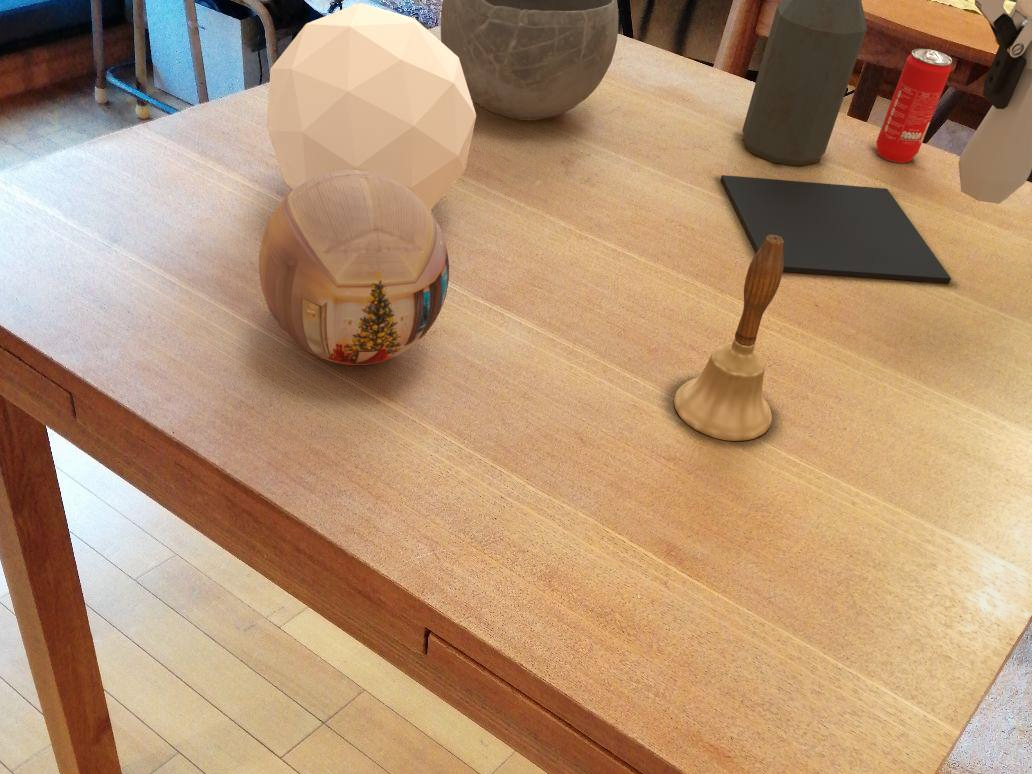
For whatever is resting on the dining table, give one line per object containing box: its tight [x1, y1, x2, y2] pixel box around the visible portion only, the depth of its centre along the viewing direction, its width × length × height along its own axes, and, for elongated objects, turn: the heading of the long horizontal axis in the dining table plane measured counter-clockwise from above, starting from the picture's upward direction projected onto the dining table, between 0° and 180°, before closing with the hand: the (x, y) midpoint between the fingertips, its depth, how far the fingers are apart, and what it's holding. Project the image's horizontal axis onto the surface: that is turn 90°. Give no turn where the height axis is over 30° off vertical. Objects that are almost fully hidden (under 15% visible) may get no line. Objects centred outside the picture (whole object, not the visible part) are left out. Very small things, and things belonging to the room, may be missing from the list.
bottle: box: [741, 0, 868, 167], centre depth 123 cm, size 10×10×30 cm
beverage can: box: [876, 48, 953, 164], centre depth 131 cm, size 5×5×12 cm
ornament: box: [258, 170, 450, 366], centre depth 87 cm, size 15×15×15 cm
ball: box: [266, 2, 477, 211], centre depth 103 cm, size 19×20×20 cm
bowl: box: [440, 0, 619, 121], centre depth 127 cm, size 20×20×15 cm
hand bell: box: [673, 235, 784, 442], centre depth 86 cm, size 8×8×16 cm
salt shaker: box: [958, 40, 1032, 205], centre depth 89 cm, size 6×6×13 cm
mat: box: [720, 174, 952, 284], centre depth 118 cm, size 20×20×1 cm
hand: (1023, 102), depth 88 cm, fingers closed on salt shaker, 4 cm apart
